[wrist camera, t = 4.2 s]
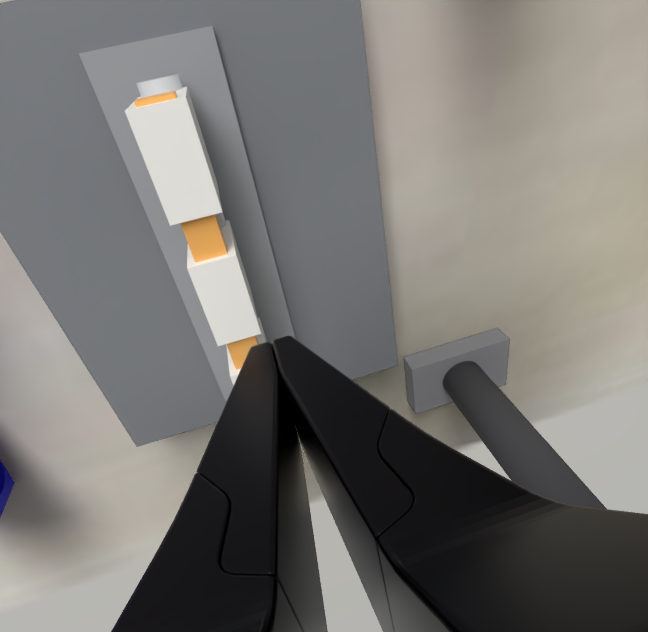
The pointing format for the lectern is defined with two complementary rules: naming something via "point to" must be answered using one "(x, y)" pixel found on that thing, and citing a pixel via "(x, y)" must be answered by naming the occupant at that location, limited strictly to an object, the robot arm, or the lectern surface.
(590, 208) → the lectern surface
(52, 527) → the lectern surface
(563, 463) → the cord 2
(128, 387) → the breaker panel
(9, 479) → the cable clip
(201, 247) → the breaker paddles
